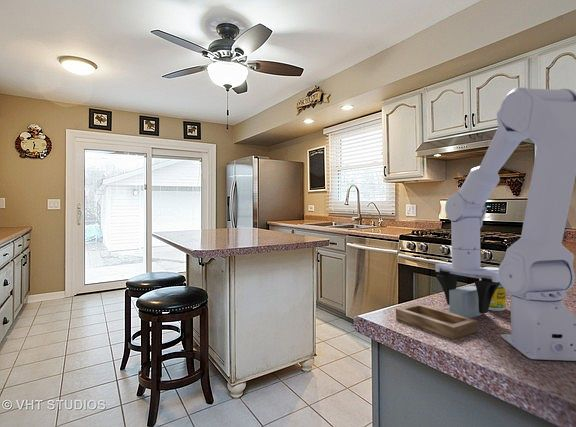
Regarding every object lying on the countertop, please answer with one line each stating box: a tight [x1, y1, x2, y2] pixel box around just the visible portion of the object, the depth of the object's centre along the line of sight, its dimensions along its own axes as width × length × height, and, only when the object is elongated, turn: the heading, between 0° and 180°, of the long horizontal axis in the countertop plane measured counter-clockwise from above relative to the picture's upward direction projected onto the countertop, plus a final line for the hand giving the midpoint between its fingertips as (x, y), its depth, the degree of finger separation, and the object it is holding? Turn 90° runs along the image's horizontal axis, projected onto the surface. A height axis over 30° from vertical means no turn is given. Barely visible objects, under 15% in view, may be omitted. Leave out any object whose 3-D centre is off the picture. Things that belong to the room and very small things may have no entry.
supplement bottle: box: [478, 266, 507, 312], centre depth 79 cm, size 5×5×10 cm
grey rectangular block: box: [449, 285, 483, 319], centre depth 74 cm, size 8×3×6 cm, turn 118°
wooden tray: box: [395, 303, 479, 340], centre depth 69 cm, size 14×7×2 cm, turn 28°
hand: (466, 308), depth 74 cm, fingers open, 7 cm apart
